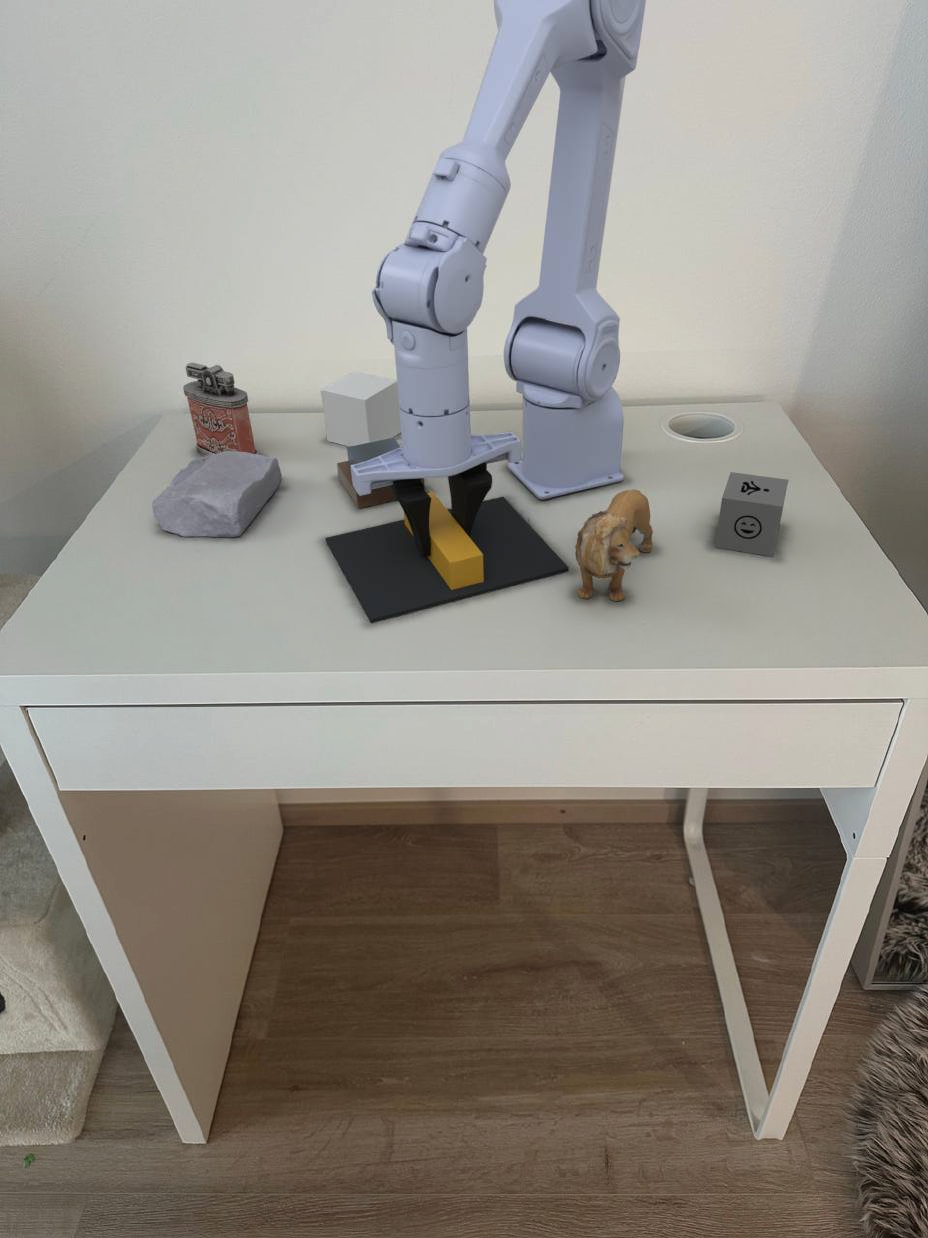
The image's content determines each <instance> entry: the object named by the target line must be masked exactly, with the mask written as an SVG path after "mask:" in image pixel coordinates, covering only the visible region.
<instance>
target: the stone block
mask: <svg viewBox="0 0 928 1238" xmlns="http://www.w3.org/2000/svg"><path fill="white" fill-rule="evenodd" d="M281 481H282V471H281V467H280V465H279V460H278V458H277V457H276V456H272V457H271V456H267V455H263V454H259V453H258V454H251V453H247V452H237V451H234V452H232V451H225V452H221V453H218V454H209V455H207V456H205V457H204V456H199V457H198V458H196V459H193V460H190V462H188V465H187V466H186V467H184V468H182V469H181V470H179V472H178V473H177V474H176V475H175V476H174V477H173V478H172V480H171V482H170V483H169V484H168V487H166V488H165V489H163V491H162V492H161V493H160V494H159V495H158V496H156V497H155V498H154V499H153V501H152V502H151V503H152V505H151V506H152V507H151V508H152V513H153V518H154V519H155V520H156V521H157V523H158V526H160V528H161V530H163V531H165V532H169V533H172V534H175V535H179V536H181V537H185V538H186V537H189V538H190V537H212V538H226V537H227V538H236V537H240V536H241V535H242V534H243V533H244V532H245V530H246V529H247V528H248V527H249V525H250V524H251V523H252V522H253V521H254V520H255V518H256V517H257V515H258V514H259V512H260V511H261V510H262V509H263V508H264V507H265V505H266V504H267V502H268V500H269V499H270V498H271V497H272V496H273V495H274V494H275V493H276V491H277V489H278V487H279V486H280V484H281Z"/></svg>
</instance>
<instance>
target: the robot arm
mask: <svg viewBox="0 0 928 1238" xmlns="http://www.w3.org/2000/svg"><path fill="white" fill-rule="evenodd" d="M646 2H647V0H493V9H494V10H493V11H494V17H495V22H496V27H497V30H498V31H497V33H496V37H495V40H494V42H493V46H492V48H491V51H490V55H489V58H488V61H487V64H486V67H485V71H484V73H483V77H482V79H481V83H480V86H479V88H478V92H477V95H476V97H475V100H474V105H473V108H472V111H471V114H470V116H469V120H468V123H467V126H466V129H465V132H464V136H463V138H462V140H461V142H459V143H456V144H454V145H451V146H448V147H446V148H445V149H443V150H442V151H441V152H440V154H439V157H438V159H437V162H436V164H435V166H434V169H433V172H432V174H431V177H430V178H429V181H428V183H427V185H426V188H425V191H424V193H423V195H422V198H421V201H420V203H419V205H418V208H417V210H416V213H415V215H414V217H413V219H412V222H411V224H410V227H409V230H408V232H407V234H406V236H405V239H404V242H403V243H401V244H399V245H397V246H395V249H392V250H391V251H389V252H388V253H387V254H386V255H385V256H384V257H383V258H382V260H381V262H380V264H379V266H378V268H377V272H376V276H375V287H374V288H373V289H372V290H371V296H372V297H371V298H372V302H373V305H374V307H375V309H376V311H377V313H378V315H380V317H381V318H382V319H383V321H384V323H385V327H386V328H385V329H386V337H387V339H388V340H389V342H390V343H391V344H392V345H393V351H394V360H395V374H396V380H397V387H398V399H399V411H400V424H401V432H400V434H401V435H400V437H401V447H400V448H397V449H395V450H393V451H390V452H388V453H385V454H383V455H380V456H378V457H376V458H373V459H371V460H368V461H365V462H362V463H358V464H354V465H351V474H352V483H353V487H354V488H355V490H356V492H357V493H358V494H359V495H360V496H362V495H366V494H370V493H371V489H375V488H380V487H385V486H390V488H391V489H392V491H393V493H394V494H395V496H396V498H397V499H398V500H397V501H398V503H399V505H400V507H401V509H402V510H403V514H404V513H405V515H406V517H407V519H408V522H409V524H410V527H411V530H412V533H413V536H414V540H415V544H416V548H417V549H418V551H419V552H420V553H421V555H422V556H423V557H427V556H430V555H431V540H430V531H429V513H430V504H431V497H430V496H429V495H428V494H427V493H428V492H427V491H426V489H425V490H424V485H425V483H424V484H423V483H422V482H421V478H424V479H437V478H446V477H447V481H448V486H449V487H448V488H449V494H450V506H451V508H450V509H451V511H452V516H453V518H454V519H455V520H456V521H457V523H458V524H459V525H460V526H461V528H462V529H463V530H464V531H465V533H466V534H467V535H468V536H469V538H470V535H471V531H472V528H473V524H474V521H475V518H476V515H477V513H478V510H479V508H480V506H481V504H482V502H483V501H485V498H486V497H487V495H488V493H489V492H490V491H491V489H492V488H493V487H492V486H493V475H492V474H491V473H490V471H489V470H488V465H489V464H495V463H499V462H504V461H507V462H508V463H507V469H508V470H509V471H510V472H511V473H513V474H514V476H515V477H517V479H518V480H519V481H520V482H521V483H522V484H523V485H524V486H525V487H526V488H527V489H528V490H529V491H530V492H531V493H532V494H533V495H534V496H535V497H536V498H537V499H538V500H548V499H551V498H556V497H561V496H564V495H568V494H572V493H577V492H580V491H584V490H589V489H593V488H598V487H601V486H606V485H611V484H615V483H618V482H623V481H624V479H625V478H624V477H625V475H624V474H623V473H622V472H621V467H622V466H621V465H622V450H623V440H624V439H623V438H624V437H623V436H624V424H625V423H624V417H625V416H624V410H623V409H624V408H623V405H622V404H623V403H622V401H621V398H620V396H619V394H618V392H617V391H616V390H615V388H614V387H613V385H614V383H615V381H616V379H617V376H618V372H619V368H620V365H621V349H620V344H619V343H620V341H619V334H620V333H619V332H620V322H621V317H620V316H619V315H618V314H617V312H616V311H615V310H614V308H612V307H611V305H610V304H609V303H608V302H607V301H606V300H605V299H604V297H602V295H601V294H600V293H599V291H598V289H597V287H598V279H599V270H600V265H601V256H602V250H603V242H604V235H605V228H606V220H607V214H608V207H609V198H610V191H611V185H612V177H613V170H614V164H615V156H616V151H617V143H618V142H617V141H618V134H619V129H620V128H619V127H620V120H621V114H622V106H623V99H624V90H625V85H626V84H625V83H626V77H627V76H628V75H629V74H631V73H633V72H634V71H635V70H636V68H637V63H638V56H639V50H640V46H641V45H640V44H641V39H642V38H641V37H642V31H643V24H644V17H645V12H646V11H645V10H646V4H647V3H646ZM550 74H551V76H552V78H553V79H554V81H555V82H556V84H557V86H558V89H559V101H558V111H557V119H556V128H555V136H554V137H555V138H554V145H553V154H552V155H553V156H552V164H551V174H550V182H549V191H548V201H547V209H546V216H545V218H546V219H545V225H544V236H543V245H542V253H541V261H540V262H541V263H540V272H539V281H538V286H537V287H536V288H535V289H534V290H532V291H531V292H530V293H528V294H527V295H525V296H524V297H523V298H521V299H520V300H519V301H518V302H517V303H516V304H515V305H514V310H513V318H512V322H511V325H510V329H509V332H508V334H507V335H506V339H505V342H504V346H503V362H504V363H503V364H504V368H505V372H506V374H507V375H508V378H510V379H511V380H512V381H514V382H515V383H516V384H515V385H516V386H515V388H516V389H515V390H516V393H519V394H521V395H522V440H521V439H520V438H519V437H518V435H516V434H515V433H514V432H512V431H507V432H501V433H491V434H473V435H472V432H471V431H472V430H471V402H470V401H471V400H470V376H469V374H470V373H469V344H468V343H469V341H468V340H469V339H468V327H469V326H471V324H472V322H473V321H474V319H475V318H476V316H477V314H478V311H479V310H480V308H481V306H482V302H483V298H484V290H485V289H484V288H485V287H484V286H485V285H484V276H485V272H486V268H487V264H486V263H487V260H488V258H487V257H486V256H485V255H484V254H485V251H486V248H487V246H488V243H489V242H490V239H491V236H492V234H493V232H494V229H495V226H496V224H497V222H498V219H499V217H500V216H501V215H500V214H501V212H502V210H503V208H504V206H505V203H506V201H507V198H508V195H509V193H510V191H511V186H512V185H511V179H510V175H509V172H508V169H507V165H506V160H507V158H508V157H509V154H510V153H511V150H512V148H513V146H514V144H515V142H516V140H517V139H518V136H519V135H520V132H521V131H522V129H523V126H524V125H525V123H526V121H527V119H528V117H529V114H530V113H531V111H532V109H533V107H534V105H535V103H536V101H537V99H538V98H539V95H540V93H541V91H542V90H543V87H544V85H545V83H546V82H547V81H546V80H547V79H548V78H549V75H550Z"/></svg>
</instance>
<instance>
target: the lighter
mask: <svg viewBox="0 0 928 1238" xmlns="http://www.w3.org/2000/svg"><path fill="white" fill-rule="evenodd" d="M184 368H185V372H186V377H188V378H191V379H195V381H191V382H187V383H186V384H184V385H183V387H182V390H183V394H184V396H185V397H186V399H187V403H188V407H189V412H190V417H191V422H192V426H193V429H194V434H195V438H196V439H195V440H196V443H195V447H196V452H197V455H199V456H201V457H205V456H207V455H209V454H218V453H221V452H225V451H232V452H234V451H237V452H247V453H251V454H259V451H258V450H257V449H256V445H255V440H254V433H253V429H252V422H251V417H250V412H249V408H248V406H249V405H248V402H249V397H248V392H247V391H245V390H243V389H240V388H238V387H235V383H236V382H235V378H234V373H233V372H229V371H226V370H224V369H223V367H222V366H221V365H219V364H215V365H213V366H211V367H208V366H207V365H204V364H200V363H197V362H189V363H186V365H185V367H184Z"/></svg>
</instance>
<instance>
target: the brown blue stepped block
mask: <svg viewBox="0 0 928 1238" xmlns="http://www.w3.org/2000/svg"><path fill="white" fill-rule="evenodd" d="M400 447H402V445H400V444H399V442H398V441H397V440H396V439H395V437H393V438H389V439H384V440H379V441H375V442H370V443H365V444H360V445H355V446H350V447H349V446H346V452H347V460H345V461H340V462H337V463H336V468H337V475H338V479H339V481H340V483H341V485H342V486H343V487H344V489H345V490H346V492H347V493H348V495H349V497H350V498H351V500H352V501H353V503H354V505H355V506H356V507H357V509H363V508H367V507H372V506H377V505H380V504H381V505H382V504H385V503H389V502H395V501H398V499H397V498H396V496H395V494H394V493H393V491H392V489H391V488H390V486H385V487H380V488H375V489H371V493H370V494H366V495H362V496H360V495H359V494H358V493H357V492H356V490H355V488H354V487H353V483H352V474H351V465H354V464H358V463H362V462H365V461H368V460H371V459H373V458H376V457H378V456H380V455H383V454H385V453H388V452H390V451H393V450H395V449H397V448H400ZM421 482H422V483H423V484H424V490H425V491H426V488H425V487H426V485H425V478H421Z"/></svg>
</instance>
